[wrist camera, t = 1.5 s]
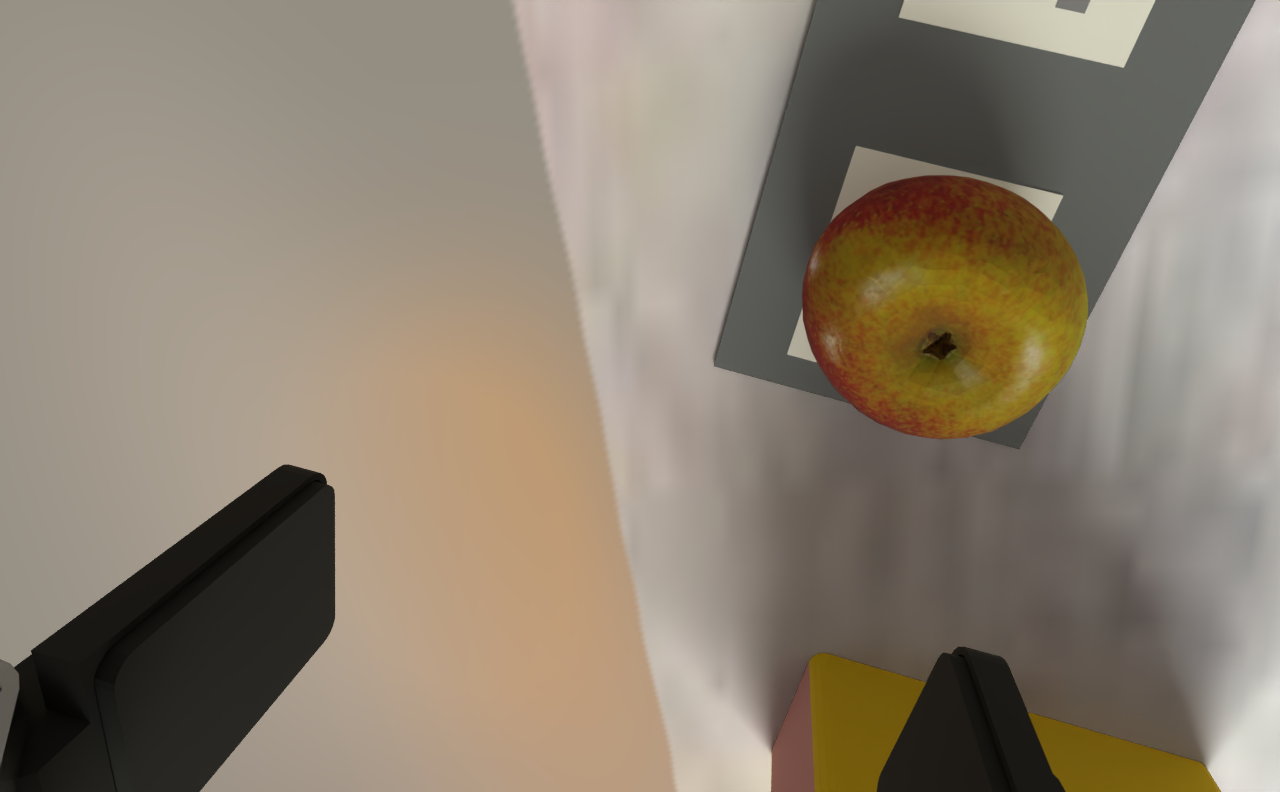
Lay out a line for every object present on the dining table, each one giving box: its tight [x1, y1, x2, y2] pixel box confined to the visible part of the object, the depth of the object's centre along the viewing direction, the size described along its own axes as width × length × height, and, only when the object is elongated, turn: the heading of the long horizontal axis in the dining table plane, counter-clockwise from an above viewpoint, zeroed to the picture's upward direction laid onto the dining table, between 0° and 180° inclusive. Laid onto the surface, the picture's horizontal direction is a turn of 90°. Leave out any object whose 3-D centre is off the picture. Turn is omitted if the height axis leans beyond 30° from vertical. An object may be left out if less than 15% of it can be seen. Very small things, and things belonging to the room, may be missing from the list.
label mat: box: [714, 0, 1255, 449], centre depth 26 cm, size 26×14×1 cm, turn 168°
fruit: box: [802, 175, 1088, 439], centre depth 25 cm, size 10×9×8 cm
